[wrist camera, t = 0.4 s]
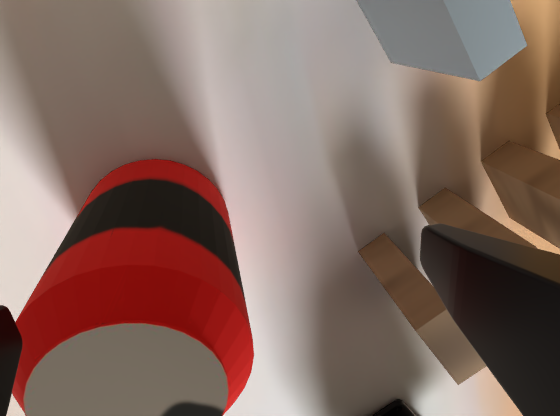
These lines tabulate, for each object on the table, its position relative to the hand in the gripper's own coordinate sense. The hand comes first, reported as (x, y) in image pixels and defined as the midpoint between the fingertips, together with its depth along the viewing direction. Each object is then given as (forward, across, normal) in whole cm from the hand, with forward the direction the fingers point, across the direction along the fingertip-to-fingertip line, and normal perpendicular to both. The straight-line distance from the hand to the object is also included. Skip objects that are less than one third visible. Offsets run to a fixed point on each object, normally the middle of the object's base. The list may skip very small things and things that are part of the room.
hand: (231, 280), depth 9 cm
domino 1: (+14, -10, -5) cm, 17 cm away
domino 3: (+14, -10, +10) cm, 20 cm away
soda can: (+14, +3, +5) cm, 15 cm away
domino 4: (+14, -18, +6) cm, 23 cm away
